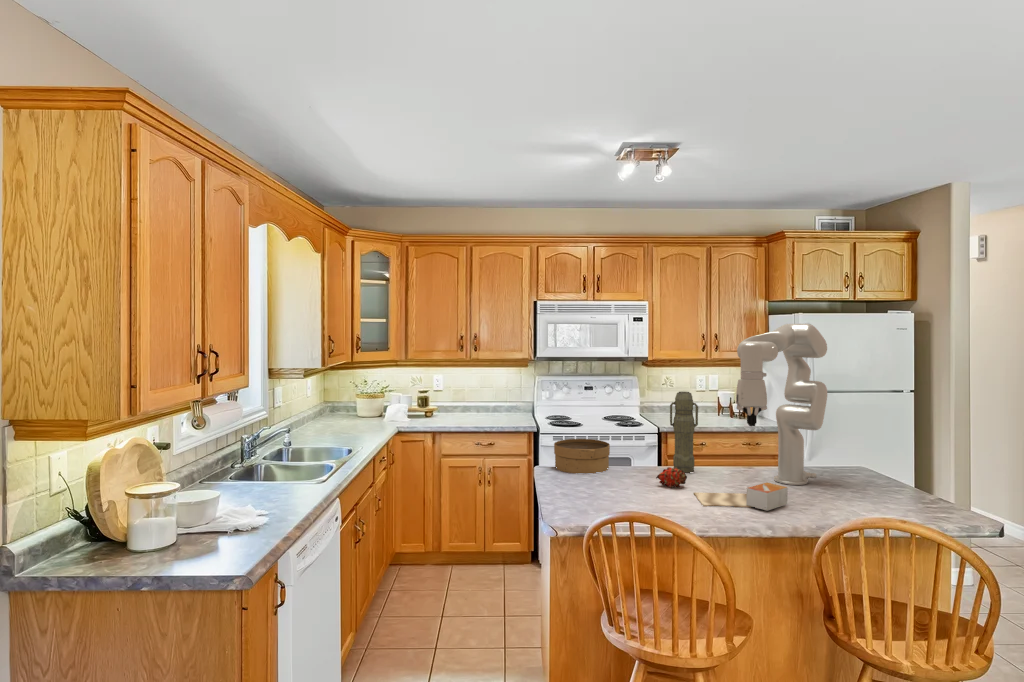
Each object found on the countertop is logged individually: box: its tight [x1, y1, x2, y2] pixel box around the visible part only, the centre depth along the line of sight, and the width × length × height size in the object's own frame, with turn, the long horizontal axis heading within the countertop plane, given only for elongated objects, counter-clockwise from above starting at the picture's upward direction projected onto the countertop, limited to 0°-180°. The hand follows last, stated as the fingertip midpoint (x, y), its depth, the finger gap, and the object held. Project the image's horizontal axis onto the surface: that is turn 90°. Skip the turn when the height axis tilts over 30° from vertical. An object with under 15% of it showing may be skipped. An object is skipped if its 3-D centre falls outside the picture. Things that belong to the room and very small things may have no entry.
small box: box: [746, 481, 789, 511], centre depth 212 cm, size 8×6×13 cm
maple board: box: [693, 491, 752, 508], centre depth 219 cm, size 24×16×1 cm, turn 85°
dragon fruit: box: [655, 466, 688, 489], centre depth 239 cm, size 8×8×12 cm
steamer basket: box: [553, 438, 611, 474], centre depth 273 cm, size 25×25×11 cm
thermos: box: [669, 391, 699, 474], centre depth 265 cm, size 9×12×35 cm
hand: (751, 425), depth 222 cm, fingers closed
